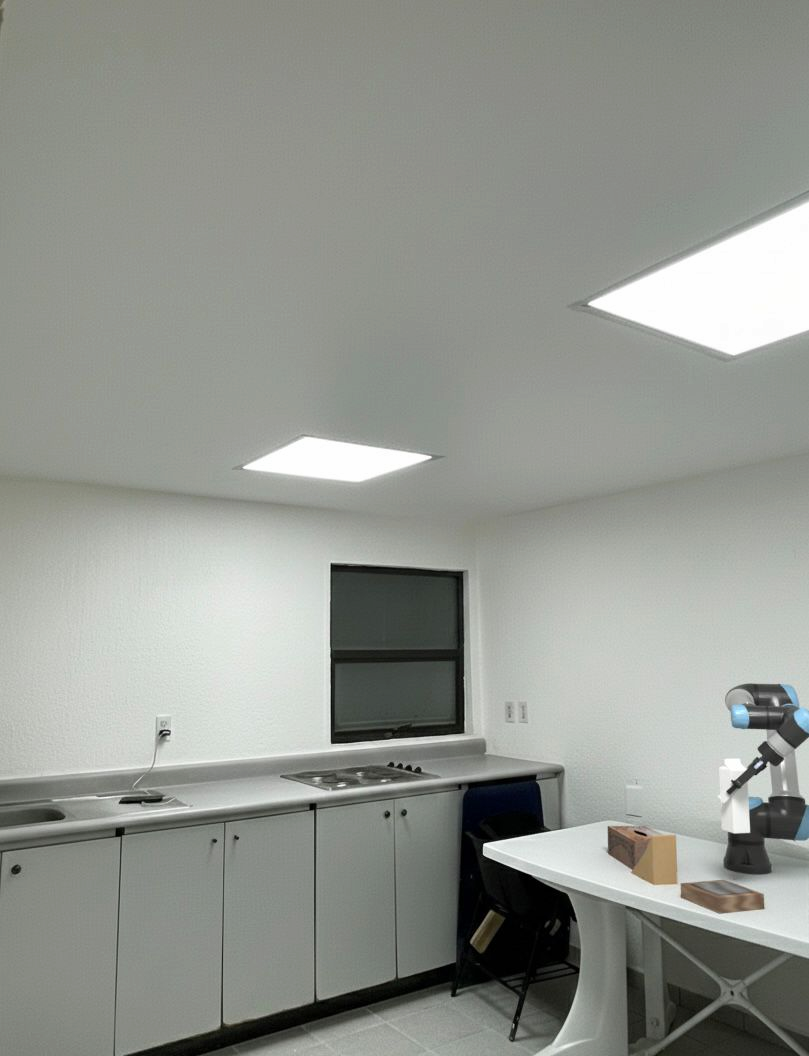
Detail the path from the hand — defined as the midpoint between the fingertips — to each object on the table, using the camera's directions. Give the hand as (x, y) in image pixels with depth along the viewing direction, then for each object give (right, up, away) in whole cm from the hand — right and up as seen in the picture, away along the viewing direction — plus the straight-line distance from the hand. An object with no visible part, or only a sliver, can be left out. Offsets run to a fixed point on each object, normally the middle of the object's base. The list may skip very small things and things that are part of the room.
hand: (723, 797), depth 254 cm
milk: (+3, -10, -3) cm, 10 cm away
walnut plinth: (-9, -24, -21) cm, 33 cm away
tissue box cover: (-18, -32, +26) cm, 45 cm away
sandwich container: (-20, -28, +5) cm, 35 cm away
